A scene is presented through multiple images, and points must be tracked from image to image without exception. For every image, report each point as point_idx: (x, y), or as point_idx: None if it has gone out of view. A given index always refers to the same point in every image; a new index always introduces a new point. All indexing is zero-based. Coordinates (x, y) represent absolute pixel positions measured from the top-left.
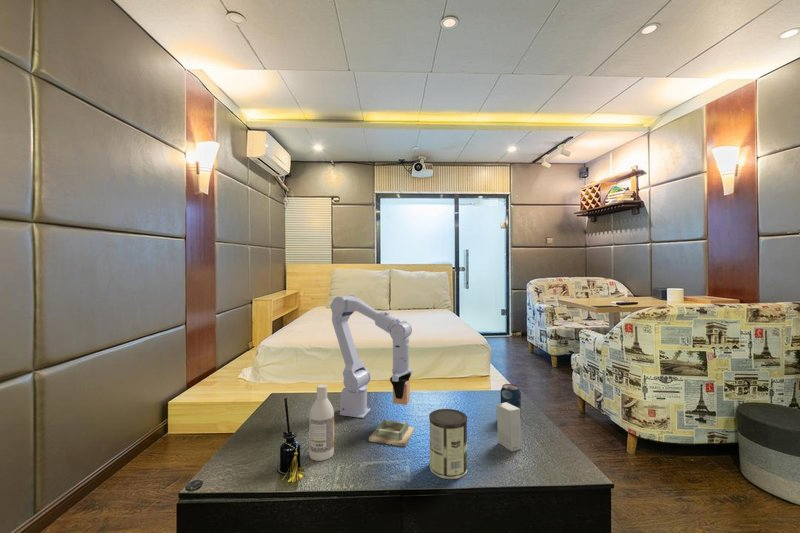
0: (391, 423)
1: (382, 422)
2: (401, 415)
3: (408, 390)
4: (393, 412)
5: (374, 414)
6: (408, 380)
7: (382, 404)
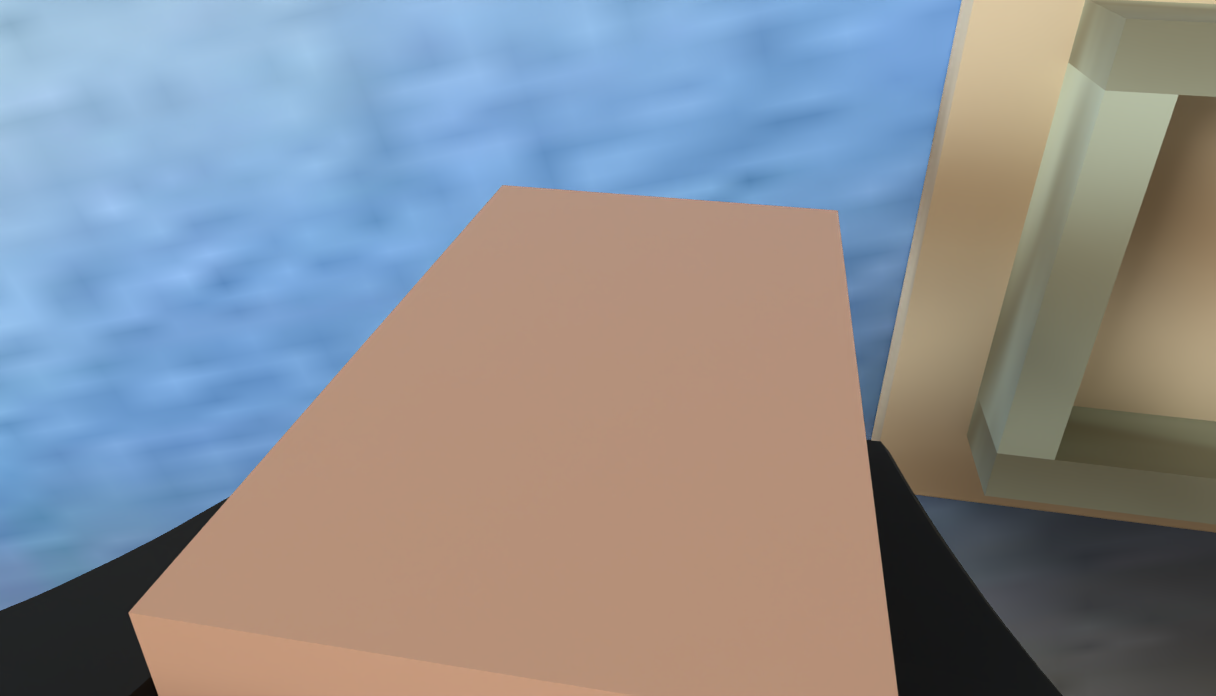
0: (1079, 348)
1: (1109, 497)
2: (433, 242)
3: (549, 372)
4: None
5: None
6: (21, 635)
7: None
